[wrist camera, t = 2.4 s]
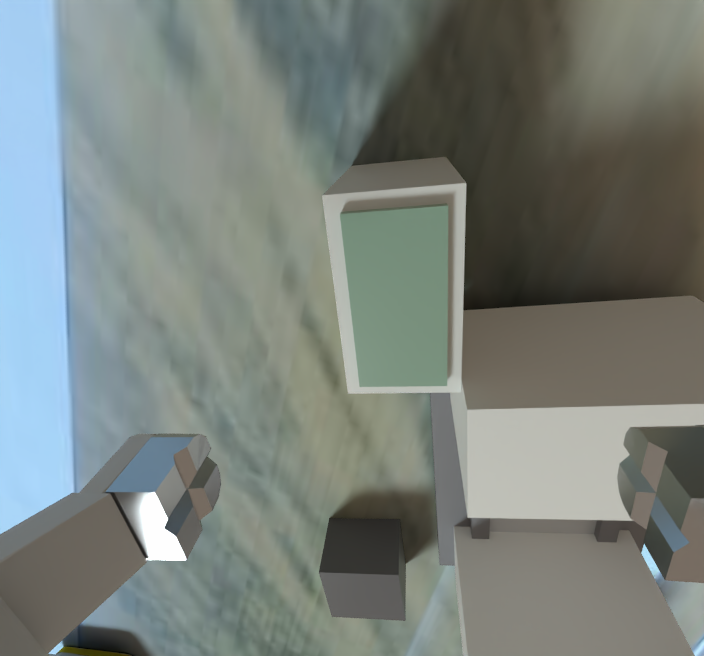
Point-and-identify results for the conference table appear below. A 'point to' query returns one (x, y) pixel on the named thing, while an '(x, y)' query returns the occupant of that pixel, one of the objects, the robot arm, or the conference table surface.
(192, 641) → the conference table surface
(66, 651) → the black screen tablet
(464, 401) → the rail base
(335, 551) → the grey cube-like block
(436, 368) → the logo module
